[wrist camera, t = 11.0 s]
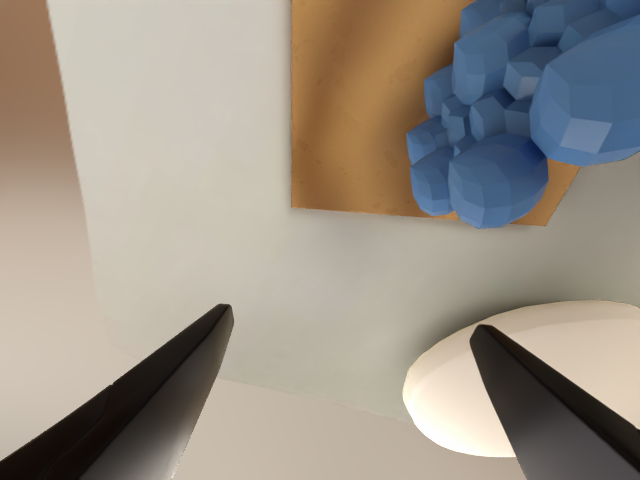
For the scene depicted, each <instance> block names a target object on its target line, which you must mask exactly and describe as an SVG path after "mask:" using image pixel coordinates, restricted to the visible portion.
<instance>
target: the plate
mask: <svg viewBox="0 0 640 480" xmlns="http://www.w3.org/2000/svg"><path fill="white" fill-rule="evenodd" d="M479 324H487V325H492V326H494V327H495V328H497V329H498V330H500V331H501V332H503V333H504V334H505V335H507V336H508V337H510V338H511V339H512V340H514V341H515V342H517V343H518V344H520V345H521V346H522V347H524V348H525V349H527V350H528V351H530V352H531V353H532V354H534V355H535V356H537V357H538V358H539V359H541V360H542V361H544V362H545V363H547V364H548V365H549V366H551V367H552V368H554V369H555V370H556V371H558V372H559V373H561V374H562V375H564V376H565V377H566V378H568V379H569V380H571V381H572V382H573V383H575V384H576V385H578V386H579V387H581V388H582V389H583V390H585V391H586V392H588V393H589V394H590V395H592V396H593V397H595V398H596V399H598V400H599V401H600V402H602V403H603V404H605V405H606V406H608V407H609V408H610V409H612V410H613V411H615V412H616V413H617V414H619V415H620V416H622V417H623V418H625V419H626V420H627V421H629V422H630V423H632V424H633V425H634V426H635V427H636V428H638V429H640V308H638V307H635V306H633V305H630V304H627V303H620V302H612V301H605V300H583V301H563V302H555V303H548V304H541V305H533V306H526V307H522V308H518V309H515V310H511V311H507V312H504V313H500V314H497V315H493V316H491V317H489V318H487V319H484V320H482V321H480V322H477V323H475V324H473V325H470V326H468V327H466V328H463V329H461V330H459V331H457V332H455V333H454V334H452V335H450V336H448V337H447V338H445V339H443V340H441V341H440V342H438V343H437V344H435V345H434V346H433V347H431V348H430V349H428V350H427V351H426V352H424V353H423V354H422V355H420V356H419V357H418V359H417V360H416V361H415V362H414V364H413V365H412V366H411V368H410V369H409V370H408V373H407V377H406V380H405V384H404V388H403V400H404V402H405V405H406V407H407V409H408V411H409V413H410V415H411V417H412V419H413V420H414V422H415V424H416V426H417V427H418V428H419V429H420V430H421V431H422V432H423V433H424V434H425V435H426V436H427V437H428V438H430V439H431V440H433V441H434V442H436V443H437V444H439V445H441V446H443V447H446V448H448V449H451V450H453V451H457V452H462V453H466V454H471V455H478V456H491V457H516V455H515V453H514V451H513V449H512V446H511V444H510V442H509V440H508V438H507V436H506V433H505V431H504V429H503V427H502V425H501V422H500V420H499V418H498V416H497V414H496V411H495V409H494V407H493V405H492V403H491V401H490V398H489V396H488V394H487V391H486V389H485V386H484V384H483V381H482V378H481V375H480V373H479V370H478V367H477V364H476V361H475V358H474V356H473V353H472V350H471V347H470V343H469V341H470V337H471V336H472V334H473V332H474V330H475V328H476V327H477V325H479Z"/></svg>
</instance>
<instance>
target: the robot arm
mask: <svg viewBox="0 0 640 480" xmlns="http://www.w3.org/2000/svg"><path fill="white" fill-rule="evenodd" d="M233 325H234V317H233V312H232V307H231V305H229V304H218V305H217V306H215V307H214V308H213V309H211V310H210V311H209V312H207V313H206V314H205V315H203V316H202V317H201V318H199V319H198V320H196V321H195V322H194V323H192V324H191V325H190V326H188V327H187V328H186V329H184V330H183V331H182V332H180V333H179V334H178V335H176V336H175V337H174V338H172V339H171V340H170V341H168V342H167V343H166V344H164V345H163V346H162V347H160V348H159V349H158V350H156V351H155V352H154V353H152V354H151V355H150V356H148V357H147V358H145V359H144V360H143V361H141V362H140V363H139V364H138V365H136V366H135V367H133V368H132V369H131V370H129V371H128V372H127V373H125V374H124V375H123V376H121V377H120V378H119V379H117V380H116V381H115V382H114V383H113V384H112V385H109V386H108V387H106V388H105V389H104V390H102V391H101V392H100V393H98V394H97V395H96V396H95V397H93V398H92V399H90V400H89V401H88V402H86V403H85V404H83V405H82V406H81V407H79V408H78V409H76V410H75V411H74V412H72V413H71V414H69V415H68V416H67V417H65V418H64V419H62V420H61V421H59V422H58V423H57V424H55V425H53V426H52V427H50V428H49V429H48V430H47V431H45V432H43V433H42V434H40V435H39V436H37V437H36V438H35V439H33V440H31V441H30V442H28V443H27V444H25V445H24V446H22V447H21V448H19V449H18V450H16V451H15V452H13V453H12V454H10V455H9V456H7V457H6V458H4V459H3V460H1V461H0V480H172V478H173V476H174V473H175V471H176V469H177V466H178V464H179V462H180V459H181V457H182V455H183V453H184V450H185V448H186V445H187V443H188V441H189V439H190V436H191V434H192V432H193V429H194V427H195V425H196V422H197V420H198V418H199V416H200V413H201V411H202V409H203V406H204V404H205V402H206V399H207V397H208V395H209V393H210V390H211V388H212V386H213V383H214V381H215V379H216V376H217V374H218V372H219V369H220V366H221V363H222V360H223V357H224V354H225V351H226V348H227V345H228V341H229V338H230V335H231V332H232V329H233ZM469 343H470V347H471V350H472V353H473V356H474V358H475V361H476V364H477V367H478V370H479V373H480V375H481V378H482V381H483V384H484V386H485V389H486V391H487V394H488V396H489V398H490V401H491V403H492V405H493V407H494V409H495V411H496V414H497V416H498V418H499V420H500V422H501V425H502V427H503V429H504V431H505V433H506V436H507V438H508V440H509V442H510V444H511V446H512V449H513V451H514V453H515V455H516V457H517V460H518V462H519V464H520V466H521V468H522V470H523V473H524V475H525V477H526V479H527V480H640V429H638V428H636V427H635V426H634V425H633V424H632V423H630V422H629V421H627V420H626V419H625V418H623V417H622V416H620V415H619V414H617V413H616V412H615V411H613V410H612V409H610V408H609V407H608V406H606V405H605V404H603V403H602V402H600V401H599V400H598V399H596V398H595V397H593V396H592V395H590V394H589V393H588V392H586V391H585V390H583V389H582V388H581V387H579V386H578V385H576V384H575V383H573V382H572V381H571V380H569V379H568V378H566V377H565V376H564V375H562V374H561V373H559V372H558V371H556V370H555V369H554V368H552V367H551V366H549V365H548V364H547V363H545V362H544V361H542V360H541V359H539V358H538V357H537V356H535V355H534V354H532V353H531V352H530V351H528V350H527V349H525V348H524V347H522V346H521V345H520V344H518V343H517V342H515V341H514V340H512V339H511V338H510V337H508V336H507V335H505V334H504V333H503V332H501V331H500V330H498V329H497V328H495V327H494V326H492V325H487V324H479V325H477V327H476V328H475V330H474V332H473V334H472V336H471V337H470V341H469Z"/></svg>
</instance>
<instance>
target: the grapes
mask: <svg viewBox="0 0 640 480" xmlns="http://www.w3.org/2000/svg"><path fill="white" fill-rule="evenodd" d="M424 99H425V106H426V112H427V114H428V115H429V117H430V119H427V120H425V121H424V122H422V123H421V124H419V125H417V126H416V127H414V128H413V129H411V130H410V131H409V132H407V133H406V138H407V149H408V155H409V159H410V163H411V164H412V166H411V167H410V179H411V185H412V191H413V196H414V198H415V200H416V202H417V204H418V206H419V207H420V209H421V210H422V211H424V212H426V213H428V214H429V215H431V216H438V215H448V214H449V213H451V212H453V211H455V212H456V214H457V215H458V217H459V218H460V220H462V221H464V222H466V223H468V224H470V225H472V226H474V227H476V228H478V229H481V228H499V227H503V226H505V225H507V224H509V223H511V222H513V221H516V220H518V219H520V218H522V217H523V216H525V215H526V214H527V213H529V212H530V211H531V210H532V209H533V208H534V207H535V206H536V204H537V203H538V202H539V201H540V200H541V199H542V197H543V194H544V192H545V189H546V187H547V184H548V182H549V174H548V163H547V158H548V159H552V160H556V161H560V162H564V163H568V164H572V165H576V166H580V167H583V166H589V165H595V164H601V163H607V162H614V161H620V160H624V159H626V158H628V157H630V156H632V155H634V154H636V153H638V152H640V0H475V1H473V2H472V3H471V4H469V5H468V6H467V7H465V8H464V9H463V10H461V19H460V32H459V40H458V41H457V42H455V44H454V58H453V63H451V64H449V65H447V66H445V67H443V68H441V69H440V70H438V71H436V72H435V73H433V74H432V75H431V76H429V77H428V78H426V79H425V80H424Z"/></svg>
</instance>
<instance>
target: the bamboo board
mask: <svg viewBox="0 0 640 480" xmlns="http://www.w3.org/2000/svg"><path fill="white" fill-rule="evenodd" d="M473 1H475V0H292V208H305V209H319V210H332V211H346V212H359V213H373V214H387V215H400V216H414V217H427V218H441V219H454V220H460V218H459V217H458V215H457V214H456V212H455V211H453V212H451V213H449V214H448V215H438V216H431V215H429V214H428V213H426V212H424V211H422V210H421V209H420V207H419V206H418V204H417V202H416V200H415V198H414V196H413V191H412V185H411V179H410V167H411V166H412V164H411V163H410V159H409V155H408V149H407V138H406V133H407V132H409V131H410V130H411V129H413V128H414V127H416V126H417V125H419V124H421V123H422V122H424V121H425V120H427V119H430V117H429V115H428V114H427V112H426V106H425V99H424V80H425V79H426V78H428V77H429V76H431V75H432V74H433V73H435V72H436V71H438V70H440V69H441V68H443V67H445V66H447V65H449V64H451V63H453V58H454V44H455V42H457V41H458V40H459V32H460V19H461V10H463V9H464V8H465V7H467V6H468V5H469V4H471V3H472V2H473ZM547 163H548V174H549V182H548V184H547V187H546V189H545V192H544V194H543V197H542V199H541V200H540V201H539V202H538V203H537V204H536V206H535V207H534V208H533V209H532V210H531V211H530V212H529V213H527V214H526V215H525V216H523V217H522V218H520V219H518V220H516V221H513V222H511V223H509V224H522V225H535V226H546V224H547V223H548V221H549V219H550V218H551V216H552V214H553V212H554V211H555V209H556V207H557V206H558V204H559V202H560V201H561V199H562V197H563V196H564V194H565V192H566V191H567V189H568V187H569V186H570V184H571V182H572V181H573V179H574V177H575V176H576V174H577V172H578V170H579V169H580V166H576V165H572V164H568V163H564V162H560V161H556V160H552V159H548V158H547Z"/></svg>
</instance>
